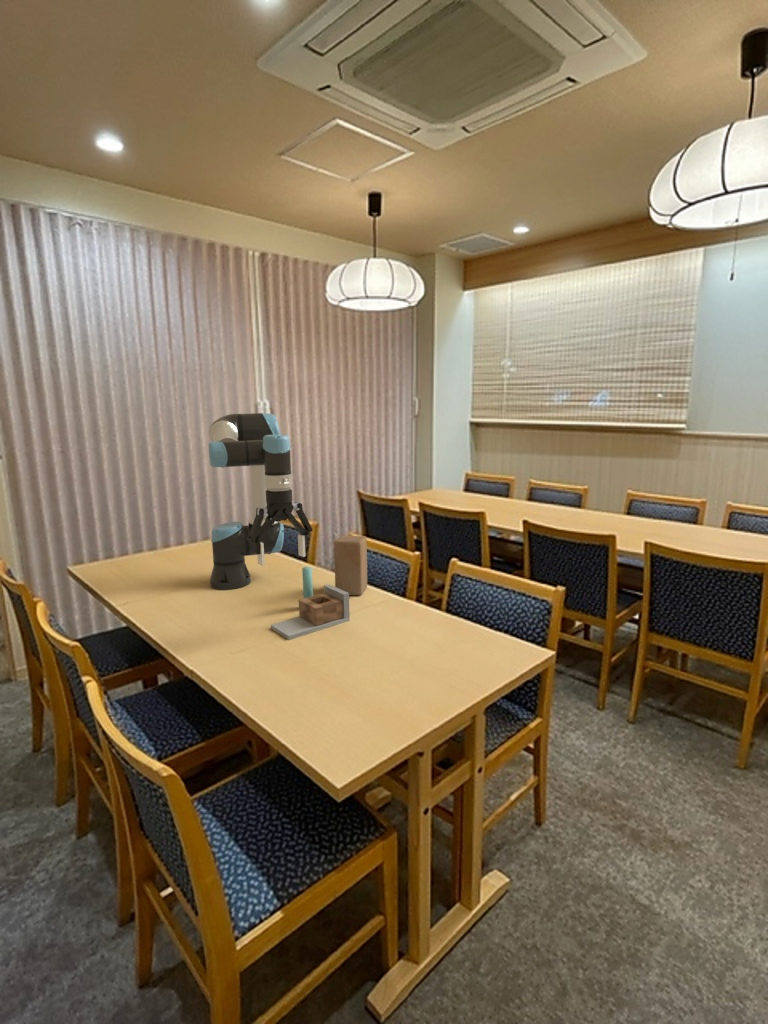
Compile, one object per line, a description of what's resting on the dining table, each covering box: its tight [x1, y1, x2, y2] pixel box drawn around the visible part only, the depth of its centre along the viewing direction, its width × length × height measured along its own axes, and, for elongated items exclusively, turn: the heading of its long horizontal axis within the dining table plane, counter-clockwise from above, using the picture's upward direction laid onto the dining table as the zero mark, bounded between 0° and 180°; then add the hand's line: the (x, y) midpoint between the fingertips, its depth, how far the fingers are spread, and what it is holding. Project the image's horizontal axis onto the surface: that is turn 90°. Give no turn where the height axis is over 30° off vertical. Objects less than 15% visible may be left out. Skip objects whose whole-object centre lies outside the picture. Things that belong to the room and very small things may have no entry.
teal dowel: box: [301, 566, 314, 599], centre depth 184 cm, size 3×3×14 cm
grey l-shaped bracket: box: [270, 584, 351, 641], centre depth 171 cm, size 11×22×9 cm, turn 130°
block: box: [333, 534, 368, 596], centre depth 200 cm, size 10×10×20 cm
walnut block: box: [298, 592, 343, 626], centre depth 173 cm, size 10×10×6 cm
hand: (282, 560), depth 162 cm, fingers open, 13 cm apart
